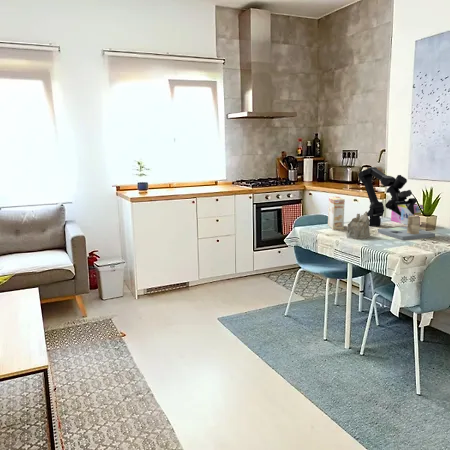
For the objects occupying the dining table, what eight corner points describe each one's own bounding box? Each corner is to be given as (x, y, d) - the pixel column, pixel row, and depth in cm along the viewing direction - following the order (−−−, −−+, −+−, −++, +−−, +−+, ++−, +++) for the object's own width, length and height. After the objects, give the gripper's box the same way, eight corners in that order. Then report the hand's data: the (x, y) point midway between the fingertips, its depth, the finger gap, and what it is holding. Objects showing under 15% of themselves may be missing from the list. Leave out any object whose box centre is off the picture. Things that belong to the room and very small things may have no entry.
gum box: (389, 220, 298) (390, 201, 295) (398, 219, 300) (399, 200, 297) (412, 226, 275) (413, 205, 272) (422, 225, 277) (424, 205, 274)
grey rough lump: (356, 231, 262) (356, 207, 258) (376, 237, 248) (376, 212, 244) (336, 235, 256) (336, 211, 252) (355, 242, 242) (356, 216, 238)
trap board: (377, 232, 259) (378, 229, 259) (408, 229, 265) (408, 226, 265) (402, 239, 238) (402, 236, 238) (435, 236, 245) (435, 233, 244)
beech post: (407, 232, 247) (408, 215, 245) (413, 232, 249) (414, 215, 247) (412, 234, 243) (413, 217, 241) (418, 233, 244) (420, 216, 242)
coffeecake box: (343, 229, 269) (345, 199, 265) (332, 229, 269) (333, 199, 265) (338, 225, 283) (339, 196, 280) (327, 225, 283) (328, 196, 280)
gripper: (389, 186, 249) (401, 207, 240) (415, 184, 254) (428, 205, 245) (380, 197, 257) (391, 218, 249) (406, 196, 263) (417, 216, 254)
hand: (407, 214), depth 249 cm, fingers open, 9 cm apart
